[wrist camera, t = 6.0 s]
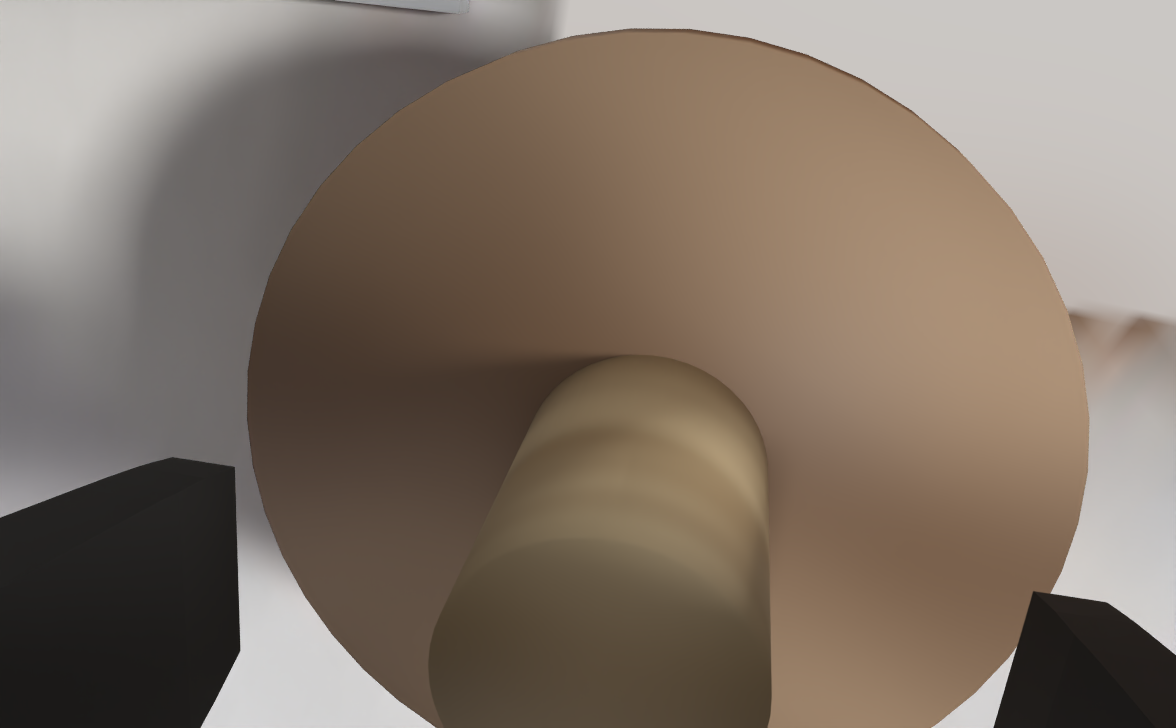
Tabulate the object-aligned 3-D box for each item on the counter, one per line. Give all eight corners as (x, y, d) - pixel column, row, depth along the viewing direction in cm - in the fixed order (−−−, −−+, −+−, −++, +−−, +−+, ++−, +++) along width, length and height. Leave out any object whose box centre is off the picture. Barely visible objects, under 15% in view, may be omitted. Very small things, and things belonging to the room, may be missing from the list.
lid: (978, 808, 14) (1075, 1192, 10) (288, 701, 15) (100, 1004, 11) (1167, 67, 11) (1447, 150, 6) (256, -5, 12) (-41, 22, 8)
